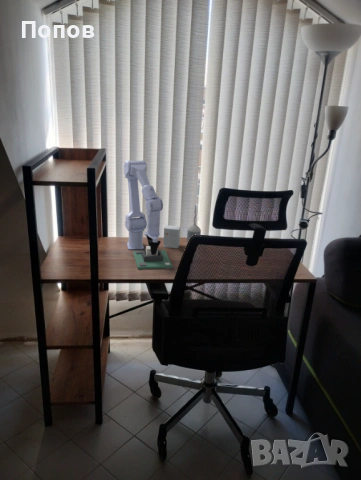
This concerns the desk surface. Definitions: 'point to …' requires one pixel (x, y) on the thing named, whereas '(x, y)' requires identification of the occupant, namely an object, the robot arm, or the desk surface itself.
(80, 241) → the desk surface
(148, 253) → the plug block
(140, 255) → the board
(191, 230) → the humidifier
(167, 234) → the small box
